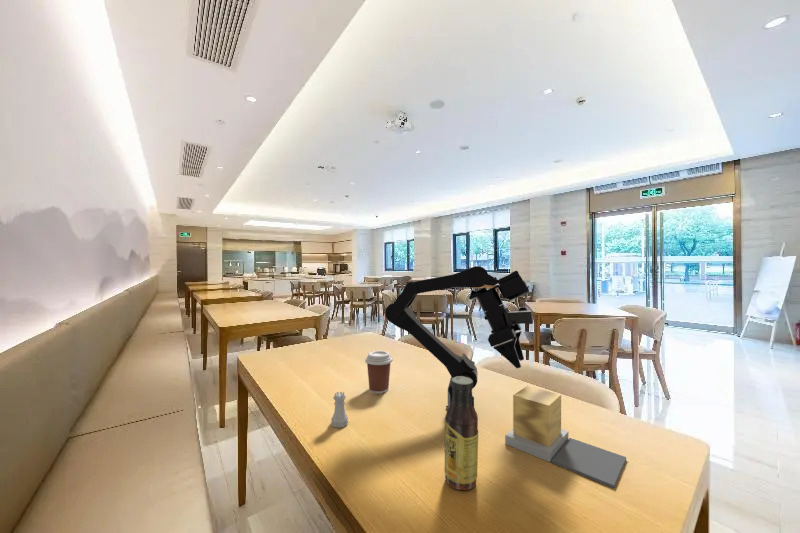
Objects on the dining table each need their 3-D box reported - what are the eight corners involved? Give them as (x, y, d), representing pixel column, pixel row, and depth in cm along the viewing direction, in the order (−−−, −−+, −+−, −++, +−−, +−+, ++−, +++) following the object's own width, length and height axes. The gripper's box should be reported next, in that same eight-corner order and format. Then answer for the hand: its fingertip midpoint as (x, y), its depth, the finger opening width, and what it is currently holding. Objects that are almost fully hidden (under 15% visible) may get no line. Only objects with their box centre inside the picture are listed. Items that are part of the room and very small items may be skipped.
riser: (505, 443, 74) (505, 435, 74) (526, 425, 83) (526, 417, 83) (550, 462, 67) (550, 452, 67) (568, 439, 76) (568, 431, 76)
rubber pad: (551, 462, 67) (551, 460, 67) (569, 440, 76) (569, 437, 76) (613, 488, 59) (613, 485, 59) (626, 459, 68) (626, 457, 68)
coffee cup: (360, 392, 104) (359, 355, 104) (372, 382, 112) (372, 348, 112) (385, 396, 101) (385, 358, 101) (396, 386, 109) (396, 351, 109)
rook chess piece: (351, 421, 85) (351, 391, 85) (343, 429, 81) (343, 398, 81) (336, 418, 86) (336, 389, 86) (327, 426, 82) (327, 395, 82)
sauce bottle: (441, 471, 64) (441, 373, 64) (471, 470, 65) (471, 372, 65) (449, 495, 58) (448, 385, 58) (482, 493, 58) (482, 384, 58)
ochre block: (513, 433, 75) (513, 395, 75) (527, 421, 81) (527, 385, 81) (548, 447, 69) (548, 405, 69) (561, 432, 75) (561, 394, 75)
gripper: (518, 297, 76) (551, 360, 72) (524, 295, 93) (551, 346, 89) (475, 315, 80) (504, 376, 76) (489, 310, 97) (513, 360, 93)
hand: (520, 363), depth 83 cm, fingers open, 9 cm apart
